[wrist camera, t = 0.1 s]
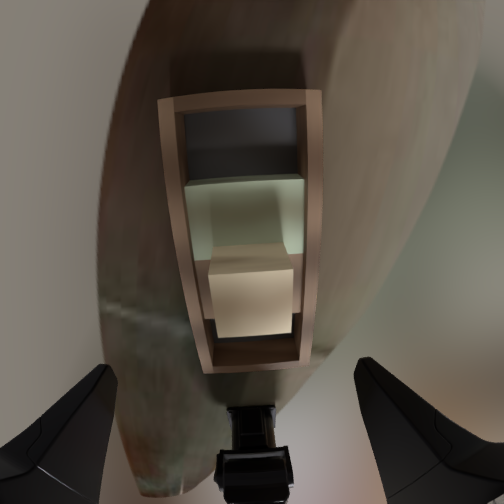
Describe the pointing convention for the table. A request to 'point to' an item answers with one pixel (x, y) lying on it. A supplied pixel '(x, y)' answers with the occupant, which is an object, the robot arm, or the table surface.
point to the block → (251, 289)
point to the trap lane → (245, 206)
